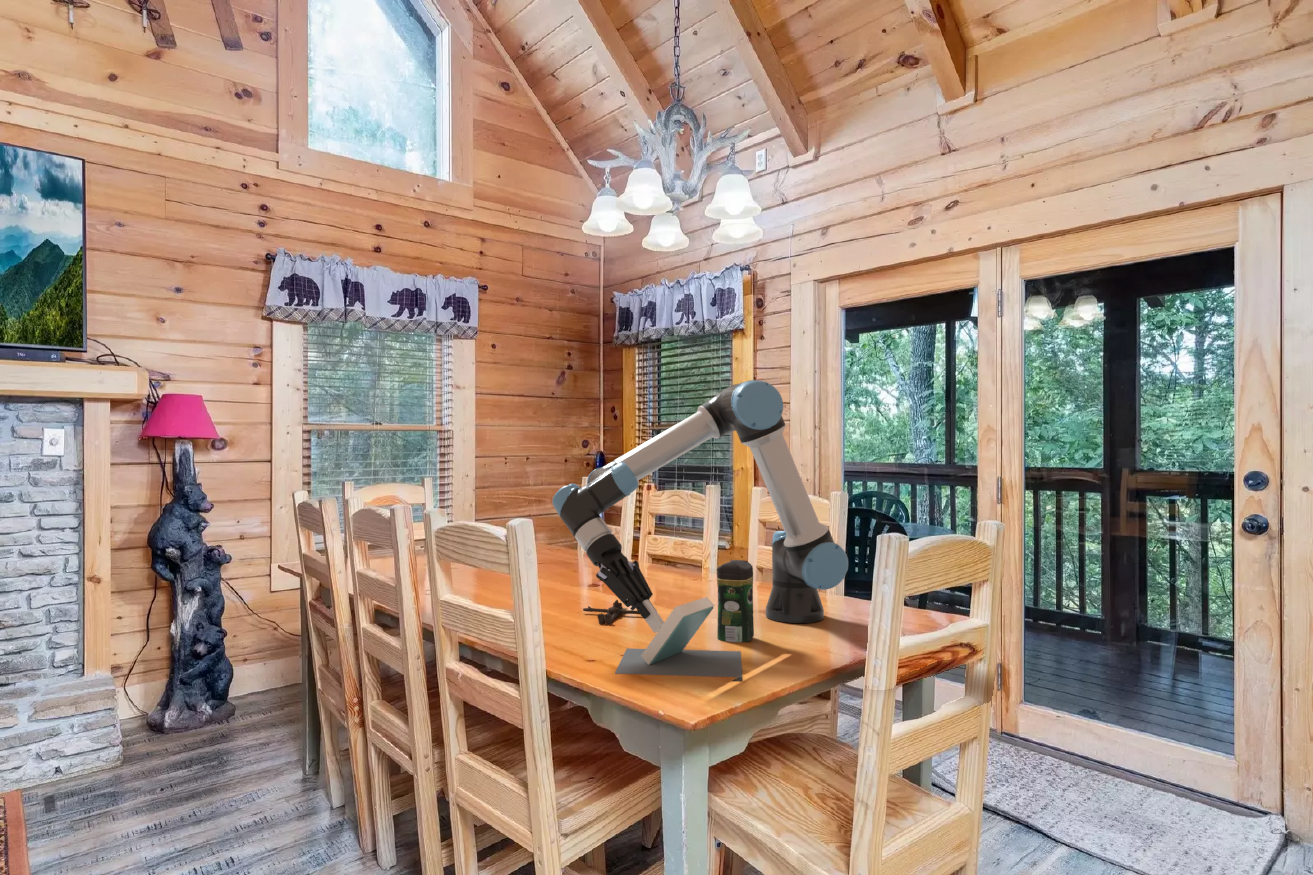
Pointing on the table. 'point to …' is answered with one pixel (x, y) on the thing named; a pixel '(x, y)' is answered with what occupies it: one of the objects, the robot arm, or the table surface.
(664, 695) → the table surface
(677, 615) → the tile
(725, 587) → the coffee jar
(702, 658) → the mat
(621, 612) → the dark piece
